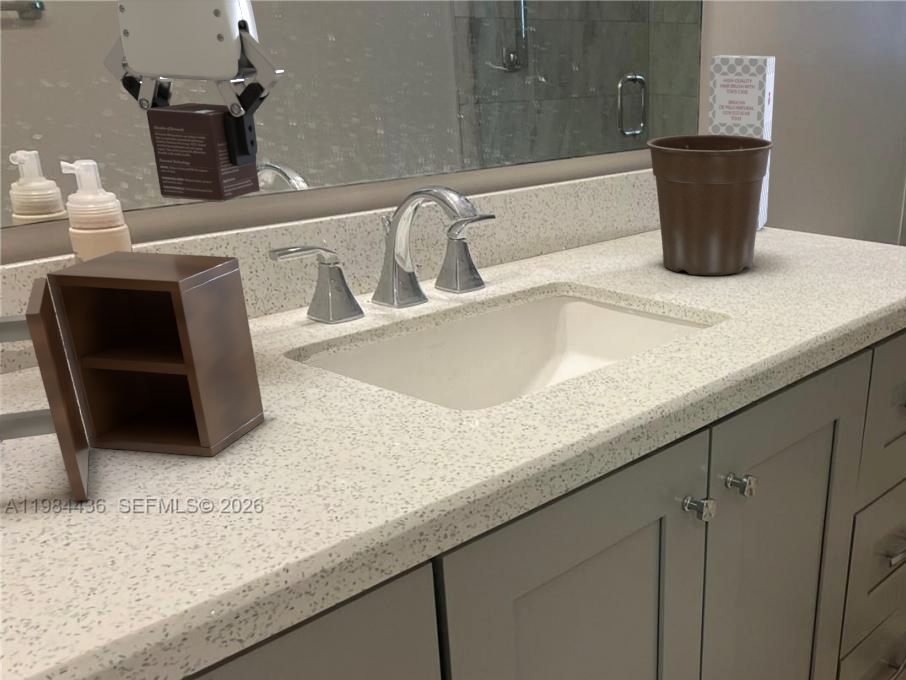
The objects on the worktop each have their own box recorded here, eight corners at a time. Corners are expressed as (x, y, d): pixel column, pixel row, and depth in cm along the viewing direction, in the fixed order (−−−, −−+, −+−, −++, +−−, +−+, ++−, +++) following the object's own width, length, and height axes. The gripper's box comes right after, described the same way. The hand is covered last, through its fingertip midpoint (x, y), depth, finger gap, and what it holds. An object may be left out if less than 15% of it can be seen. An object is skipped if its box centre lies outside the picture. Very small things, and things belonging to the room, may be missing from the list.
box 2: (705, 227, 165) (710, 57, 155) (716, 218, 173) (721, 55, 162) (758, 230, 164) (766, 58, 153) (766, 221, 171) (775, 56, 160)
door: (-31, 518, 70) (-92, 324, 64) (-16, 462, 78) (-69, 286, 72) (87, 499, 72) (39, 312, 67) (88, 447, 81) (46, 277, 75)
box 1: (202, 188, 95) (189, 102, 92) (262, 192, 94) (251, 106, 91) (159, 198, 90) (144, 107, 86) (222, 203, 89) (209, 111, 85)
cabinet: (212, 457, 80) (178, 281, 74) (89, 447, 81) (46, 273, 75) (265, 420, 87) (238, 257, 81) (151, 411, 88) (116, 250, 82)
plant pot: (668, 284, 132) (670, 150, 125) (631, 256, 145) (631, 135, 138) (785, 276, 136) (793, 147, 129) (739, 250, 150) (744, 133, 143)
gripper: (296, -67, 85) (320, 162, 93) (102, -74, 87) (142, 150, 95) (248, -74, 78) (278, 173, 86) (39, -81, 80) (88, 161, 88)
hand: (206, 159), depth 90 cm, fingers closed on box 1, 6 cm apart
